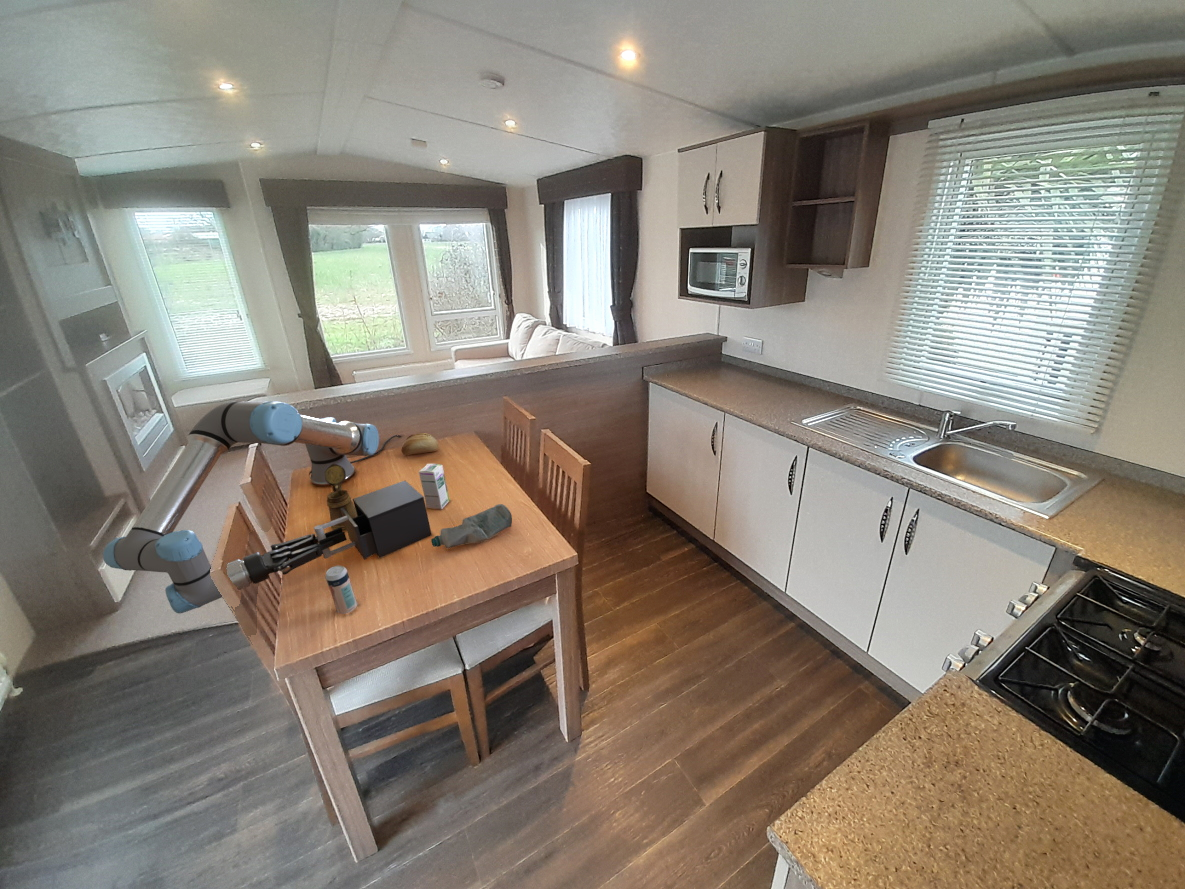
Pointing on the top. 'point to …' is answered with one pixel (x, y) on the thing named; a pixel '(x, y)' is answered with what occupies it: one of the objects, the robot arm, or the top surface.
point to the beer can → (341, 589)
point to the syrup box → (434, 486)
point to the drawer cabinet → (394, 516)
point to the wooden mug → (338, 496)
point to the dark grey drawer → (351, 535)
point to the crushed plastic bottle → (475, 528)
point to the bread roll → (419, 444)
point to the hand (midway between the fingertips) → (343, 533)
